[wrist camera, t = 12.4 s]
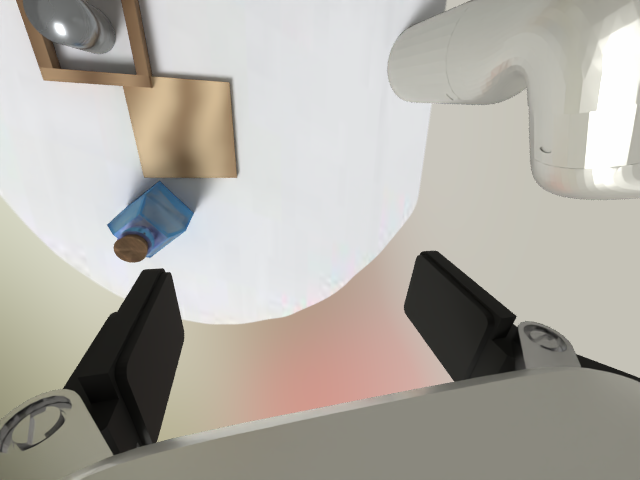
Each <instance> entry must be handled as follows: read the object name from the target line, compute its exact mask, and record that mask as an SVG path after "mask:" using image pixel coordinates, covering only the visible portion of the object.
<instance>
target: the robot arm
mask: <svg viewBox="0 0 640 480" xmlns="http://www.w3.org/2000/svg"><path fill="white" fill-rule="evenodd" d="M387 73H388V80H389V83H390V86H391V88H392V90H393V91H394V93H395V94H396V95H397V96H398V97H399V98H400V99H402V100H404V101H407V102H411V103H438V104H466V105H489V104H495V103H499V102H502V101H505V100H507V99H509V98H511V97H513V96H515V95H517V94H518V93H520V92H521V91H523V90H524V89H526V88H527V100H528V107H529V139H530V140H529V142H530V164H531V171H532V174H533V177H534V179H535V180H536V182H537V183H538V185H539V186H540V187H542V188H543V189H544V190H546V191H548V192H550V193H552V194H555V195H559V196H562V197H568V198H574V199H586V200H587V199H588V200H616V199H636V198H640V0H471V1H468V2H466V3H464V4H462V5H459V6H457V7H455V8H452V9H450V10H448V11H445V12H443V13H441V14H438V15H436V16H434V17H431V18H429V19H427V20H424V21H422V22H420V23H417V24H415V25H413V26H411V27H409V28H408V29H406V30H405V31H404V32H403V33H402V34H401V35H400V36H399V37H398V38H397V40H396V41H395V43H394V44H393V47H392V49H391V52H390V55H389V59H388V67H387ZM404 310H405V314H406V315H407V317H408V318H409V319H410V321H411V322H412V323H413V325H414V326H415V327H416V329H417V330H418V332H419V333H420V334H421V336H422V337H423V339H424V340H425V342H426V343H427V344H428V346H429V347H430V348H431V350H432V351H433V353H434V354H435V355H436V357H437V358H438V360H439V361H440V362H441V364H442V365H443V367H444V368H445V369H446V371H447V372H448V373H449V375H450V376H451V378H452V379H453V380H454V381H455V382H451V383H445V384H441V385H435V386H430V387H424V388H420V389H414V390H409V391H404V392H398V393H393V394H388V395H383V396H378V397H372V398H368V399H362V400H357V401H352V402H347V403H342V404H337V405H331V406H326V407H322V408H316V409H311V410H307V411H302V412H296V413H292V414H286V415H281V416H276V417H272V418H267V419H262V420H257V421H252V422H247V423H241V424H237V425H232V426H227V427H223V428H218V429H214V430H209V431H204V432H200V433H196V434H191V435H186V436H182V437H177V438H172V439H169V440H165V441H161V442H157V439H158V436H159V432H160V429H161V425H162V421H163V417H164V414H165V410H166V406H167V402H168V399H169V395H170V391H171V387H172V383H173V380H174V376H175V372H176V368H177V365H178V360H179V357H180V353H181V349H182V346H183V342H184V329H183V325H182V320H181V315H180V311H179V306H178V302H177V297H176V292H175V288H174V283H173V279H172V275H171V273H170V272H165V270H164V269H163V268H162V269H146V270H143V271H142V272H141V274H140V276H139V277H138V279H137V280H136V282H135V284H134V285H133V287H132V289H131V290H130V292H129V294H128V295H127V297H126V298H125V300H124V302H123V303H122V305H121V307H120V308H119V310H118V312H114V313H112V314H111V315H110V316H109V317H108V319H107V320H106V322H105V323H104V325H103V327H102V328H101V330H100V331H99V333H98V335H97V336H96V338H95V339H94V341H93V342H92V344H91V346H90V347H89V349H88V351H87V352H86V353H85V355H84V357H83V358H82V360H81V361H80V363H79V364H78V366H77V367H76V369H75V371H74V372H73V374H72V375H71V377H70V378H69V380H68V382H67V383H66V385H65V386H64V388H63V389H60V390H53V391H49V392H46V393H42V394H40V395H38V396H35V397H33V398H31V399H29V400H27V401H25V402H24V403H22V404H21V405H19V406H18V407H16V408H14V409H13V410H12V411H10V412H9V413H8V414H7V415H6V416H5V417H3V418H2V419H1V420H0V480H640V378H638V377H636V376H633V375H630V374H628V373H625V372H623V371H620V370H617V369H614V368H612V367H609V366H607V365H604V364H601V363H598V362H596V361H593V360H590V359H588V358H585V357H583V356H580V355H577V354H576V353H575V351H574V349H573V346H572V345H571V343H570V342H569V341H568V340H567V339H566V338H565V337H564V336H563V335H561V334H560V333H559V332H557V331H556V330H554V329H552V328H550V327H548V326H545V325H543V324H540V323H536V322H529V321H525V322H521V323H520V324H519V325H518V327H516V326H515V325H514V324H513V323H514V321H515V319H516V315H514V314H513V313H512V312H511V311H510V310H508V309H507V308H506V307H505V306H503V305H502V304H501V303H500V302H499V301H497V300H496V299H495V298H494V297H493V296H491V295H490V294H489V293H488V292H487V291H485V290H484V289H483V288H482V287H480V286H479V285H478V284H477V283H476V282H474V281H473V280H472V279H471V278H469V277H468V276H467V275H466V274H465V273H463V272H462V271H461V270H460V269H458V268H457V267H456V266H455V265H454V264H452V263H451V262H450V261H449V260H447V259H446V258H445V257H444V256H443V255H441V254H440V253H439V252H438V251H424V252H421V253H420V255H419V256H417V258H416V261H415V265H414V270H413V273H412V277H411V281H410V285H409V289H408V292H407V296H406V300H405V304H404ZM156 442H157V443H156Z"/></svg>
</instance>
